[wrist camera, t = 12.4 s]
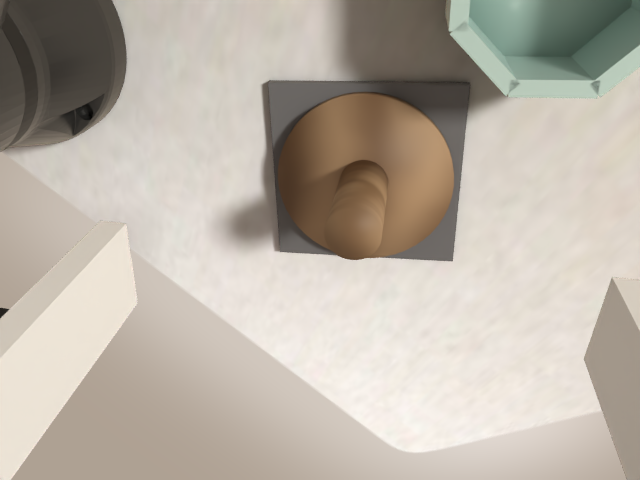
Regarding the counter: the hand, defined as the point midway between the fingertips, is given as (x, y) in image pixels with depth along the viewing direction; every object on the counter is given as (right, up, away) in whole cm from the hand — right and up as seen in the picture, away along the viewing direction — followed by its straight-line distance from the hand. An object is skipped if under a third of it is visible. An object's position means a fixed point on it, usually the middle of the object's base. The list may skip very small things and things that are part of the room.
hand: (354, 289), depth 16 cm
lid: (+2, +6, +28) cm, 29 cm away
